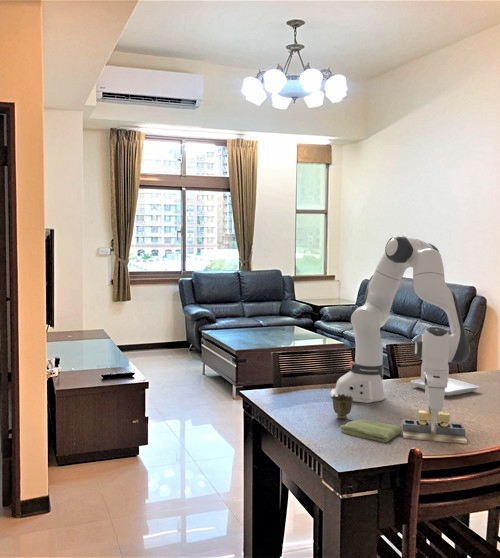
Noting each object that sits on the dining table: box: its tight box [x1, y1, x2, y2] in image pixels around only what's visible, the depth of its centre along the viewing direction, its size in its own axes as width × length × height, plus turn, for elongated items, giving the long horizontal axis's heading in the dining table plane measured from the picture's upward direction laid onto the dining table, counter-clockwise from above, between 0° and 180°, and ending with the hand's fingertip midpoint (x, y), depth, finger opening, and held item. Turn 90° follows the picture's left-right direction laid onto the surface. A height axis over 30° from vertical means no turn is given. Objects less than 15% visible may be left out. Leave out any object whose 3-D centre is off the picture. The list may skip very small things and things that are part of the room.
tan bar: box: [417, 410, 451, 427], centre depth 192 cm, size 10×3×6 cm, turn 78°
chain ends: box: [401, 418, 466, 438], centre depth 192 cm, size 20×5×2 cm, turn 78°
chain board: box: [400, 422, 468, 445], centre depth 192 cm, size 20×13×1 cm, turn 78°
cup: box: [331, 394, 354, 420], centre depth 207 cm, size 8×7×8 cm
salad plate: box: [410, 377, 480, 397], centre depth 250 cm, size 21×21×3 cm
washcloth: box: [339, 418, 402, 443], centre depth 193 cm, size 13×18×3 cm
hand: (432, 416), depth 192 cm, fingers open, 8 cm apart
